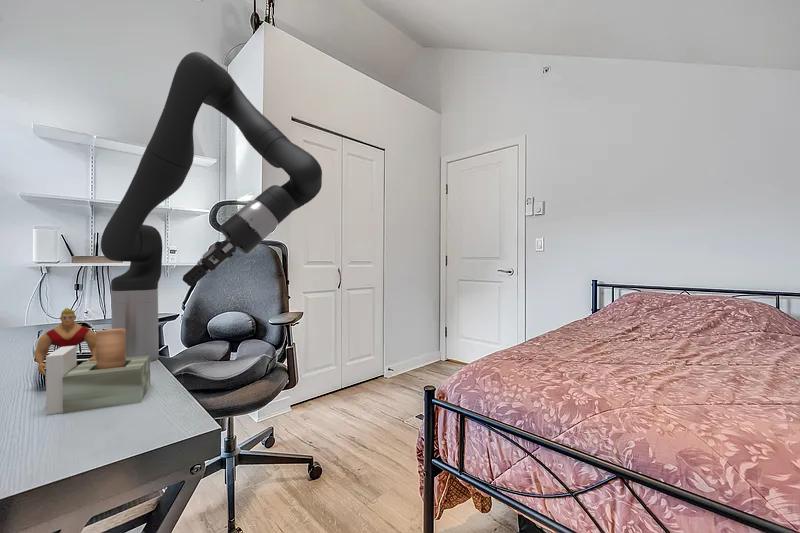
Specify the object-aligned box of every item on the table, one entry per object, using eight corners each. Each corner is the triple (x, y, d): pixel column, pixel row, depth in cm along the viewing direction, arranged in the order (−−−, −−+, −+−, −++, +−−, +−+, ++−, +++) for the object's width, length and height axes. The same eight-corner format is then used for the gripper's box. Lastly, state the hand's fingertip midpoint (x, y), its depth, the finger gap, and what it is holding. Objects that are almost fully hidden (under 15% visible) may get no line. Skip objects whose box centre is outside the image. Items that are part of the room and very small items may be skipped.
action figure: (32, 393, 66) (31, 310, 66) (35, 388, 69) (34, 308, 69) (100, 382, 72) (99, 306, 72) (100, 378, 75) (99, 305, 75)
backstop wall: (61, 398, 63) (61, 346, 63) (76, 396, 64) (76, 345, 64) (46, 414, 56) (45, 356, 56) (63, 412, 57) (63, 354, 57)
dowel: (99, 386, 64) (98, 330, 64) (127, 382, 66) (126, 327, 66) (94, 393, 61) (93, 333, 61) (124, 389, 63) (123, 331, 63)
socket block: (83, 395, 66) (83, 361, 66) (150, 386, 70) (150, 355, 70) (62, 415, 57) (62, 376, 57) (140, 404, 61) (140, 368, 61)
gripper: (232, 216, 81) (171, 267, 76) (240, 208, 69) (168, 269, 63) (257, 241, 84) (200, 292, 78) (269, 237, 72) (203, 298, 66)
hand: (186, 281), depth 71 cm, fingers open, 8 cm apart
